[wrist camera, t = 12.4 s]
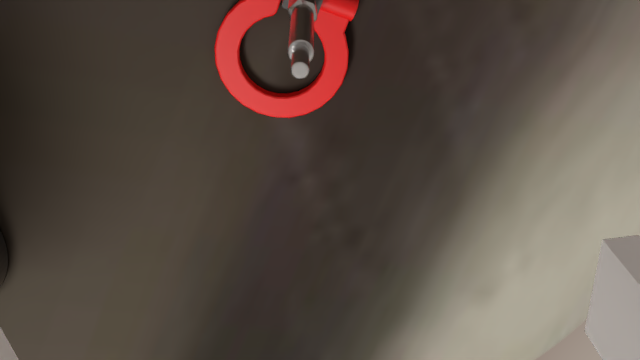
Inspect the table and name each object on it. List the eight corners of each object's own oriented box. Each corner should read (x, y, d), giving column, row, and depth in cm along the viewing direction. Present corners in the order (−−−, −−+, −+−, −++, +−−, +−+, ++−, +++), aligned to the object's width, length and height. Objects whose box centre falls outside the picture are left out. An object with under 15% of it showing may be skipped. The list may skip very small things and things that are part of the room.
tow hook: (321, 125, 39) (373, -1, 34) (324, 245, 28) (400, 85, 23) (203, 88, 37) (240, -50, 33) (159, 200, 27) (204, 18, 22)
